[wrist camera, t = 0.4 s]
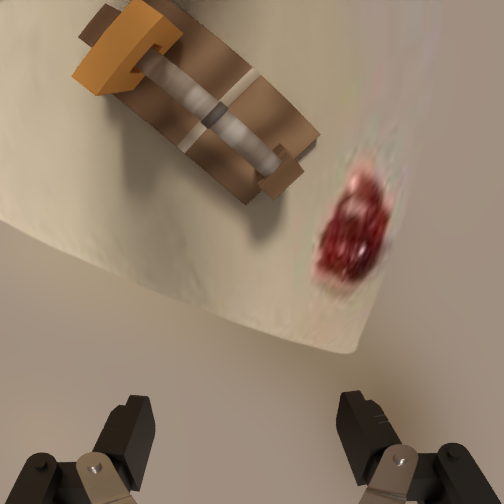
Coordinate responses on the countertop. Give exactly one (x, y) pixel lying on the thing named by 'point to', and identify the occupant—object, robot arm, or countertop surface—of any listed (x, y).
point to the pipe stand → (215, 107)
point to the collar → (125, 49)
